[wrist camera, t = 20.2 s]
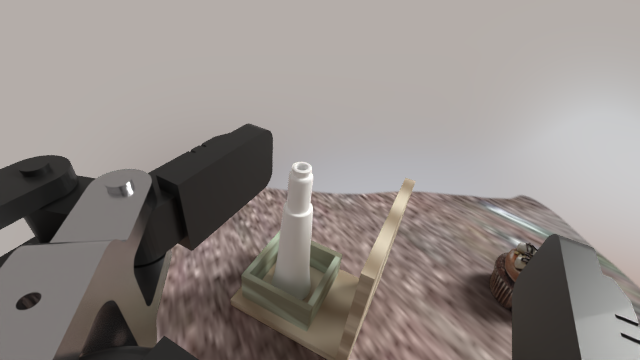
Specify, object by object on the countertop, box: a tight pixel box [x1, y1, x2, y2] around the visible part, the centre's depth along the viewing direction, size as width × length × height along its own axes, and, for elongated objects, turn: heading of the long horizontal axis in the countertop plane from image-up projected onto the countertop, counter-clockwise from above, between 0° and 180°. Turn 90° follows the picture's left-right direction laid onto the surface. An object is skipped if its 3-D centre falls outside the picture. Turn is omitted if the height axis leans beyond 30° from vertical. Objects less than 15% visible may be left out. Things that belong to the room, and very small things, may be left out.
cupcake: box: [490, 243, 538, 311], centre depth 49 cm, size 10×10×10 cm
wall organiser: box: [231, 178, 415, 360], centre depth 40 cm, size 16×18×22 cm
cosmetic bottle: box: [271, 162, 313, 300], centre depth 41 cm, size 6×6×22 cm
